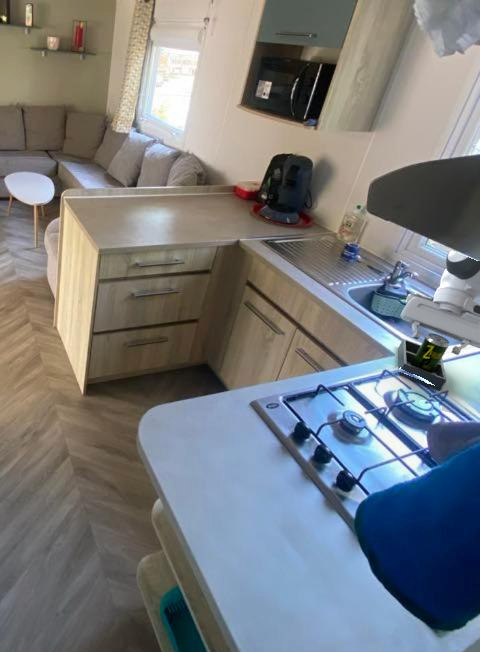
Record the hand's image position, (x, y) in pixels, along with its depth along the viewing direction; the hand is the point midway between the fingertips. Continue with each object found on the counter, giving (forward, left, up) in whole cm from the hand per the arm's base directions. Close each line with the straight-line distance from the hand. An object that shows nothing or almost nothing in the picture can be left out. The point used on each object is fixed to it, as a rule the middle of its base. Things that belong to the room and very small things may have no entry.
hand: (434, 345), depth 120 cm
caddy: (0, -3, -10) cm, 10 cm away
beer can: (0, +1, -9) cm, 9 cm away
